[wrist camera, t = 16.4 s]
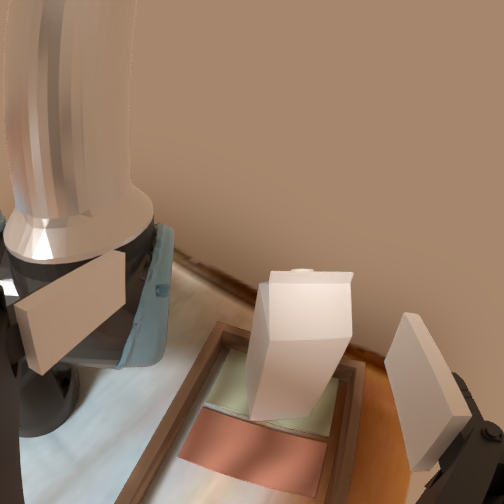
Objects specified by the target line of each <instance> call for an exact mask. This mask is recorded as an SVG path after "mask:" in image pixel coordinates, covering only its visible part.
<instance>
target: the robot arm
mask: <svg viewBox="0 0 504 504" xmlns="http://www.w3.org/2000/svg"><path fill="white" fill-rule="evenodd" d="M137 4H138V0H9V6H8V13H7V21H6V30H5V42H4V60H3V105H4V123H5V134H6V145H7V154H8V161H9V168H10V175H11V181H12V187H13V192H14V198H15V203H16V206H15V209H14V211H13V213H12V215H11V216H10V218H9V220H8V222H7V224H6V225H5V223H6V219H5V216H3V214H2V212H1V210H0V504H25V503H24V496H23V488H22V478H21V466H20V449H19V437H27V438H29V437H37V436H41V435H44V434H47V433H49V432H51V431H52V430H54V429H56V428H57V427H58V426H59V425H61V424H62V423H63V422H64V421H65V420H66V418H67V417H68V416H69V415H70V413H71V411H72V410H73V408H74V406H75V403H76V400H77V397H78V392H79V378H78V373H77V370H76V367H75V366H84V367H96V368H112V369H115V370H120V369H122V368H124V367H148V366H152V365H154V364H156V363H158V362H159V361H160V360H161V358H162V357H163V355H164V352H165V347H166V339H167V327H168V313H169V290H170V282H171V273H172V261H173V247H174V231H173V229H172V228H171V227H170V226H166V225H164V224H161V223H157V224H154V210H153V205H152V201H151V200H150V198H149V197H148V196H147V195H146V194H145V193H143V192H142V191H141V190H140V189H138V188H137V187H135V186H134V185H133V184H132V182H131V173H130V88H131V68H132V54H133V41H134V30H135V20H136V12H137ZM384 363H385V367H386V370H387V374H388V378H389V381H390V385H391V389H392V393H393V396H394V400H395V404H396V408H397V412H398V417H399V421H400V425H401V429H402V434H403V438H404V443H405V447H406V452H407V457H408V462H409V467H410V472H419V471H430V469H431V468H432V467H433V466H434V465H435V464H436V463H437V461H439V465H440V468H441V469H440V470H439V471H438V472H437V473H436V475H435V476H434V477H433V478H432V479H431V480H430V481H429V482H428V483H427V484H426V485H425V487H426V490H425V491H424V493H423V494H422V495H421V497H420V498H419V500H418V501H417V502H416V504H504V433H503V431H502V430H501V429H500V427H499V426H497V425H496V424H494V423H492V422H490V421H484V419H483V417H482V415H481V413H480V411H479V409H478V407H477V405H476V403H475V401H474V399H473V398H472V396H471V393H470V392H469V391H468V388H467V386H466V384H465V382H464V380H462V379H461V378H460V377H459V376H458V375H457V374H456V373H453V372H450V369H449V368H448V366H447V364H446V362H445V360H444V358H443V357H442V355H441V353H440V351H439V349H438V347H437V345H436V344H435V342H434V340H433V338H432V337H431V335H430V333H429V331H428V330H427V328H426V326H425V325H424V323H423V321H422V319H421V318H420V316H419V315H418V314H413V313H407V312H404V313H403V316H402V319H401V321H400V324H399V326H398V329H397V332H396V334H395V337H394V339H393V342H392V344H391V347H390V349H389V351H388V354H387V356H386V358H385V361H384Z"/></svg>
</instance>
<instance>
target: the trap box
mask: <svg viewBox="0 0 504 504" xmlns="http://www.w3.org/2000/svg"><path fill="white" fill-rule="evenodd" d="M250 335H251V332H250V331H246V330H243V329H240V328H237V327H233V326H230V325H227V324H224V323H221V322H217V324H216V325H215V327H214V329H213V331H212V332H211V334H210V336H209V338H208V340H207V341H206V343H205V345H204V347H203V348H202V350H201V352H200V354H199V355H198V357H197V359H196V361H195V363H194V364H193V366H192V368H191V370H190V371H189V373H188V375H187V377H186V378H185V380H184V382H183V384H182V385H181V387H180V389H179V391H178V393H177V394H176V396H175V398H174V400H173V401H172V403H171V405H170V407H169V408H168V410H167V412H166V414H165V415H164V417H163V419H162V421H161V422H160V424H159V426H158V428H157V429H156V431H155V433H154V435H153V436H152V438H151V440H150V442H149V444H148V445H147V447H146V449H145V451H144V452H143V454H142V456H141V458H140V459H139V461H138V463H137V465H136V466H135V468H134V470H133V472H132V473H131V475H130V477H129V479H128V480H127V482H126V484H125V485H124V487H123V489H122V491H121V492H120V494H119V496H118V498H117V499H116V501H115V503H114V504H140V502H141V500H142V498H143V496H144V495H145V493H146V491H147V489H148V487H149V485H150V483H151V482H152V480H153V478H154V476H155V474H156V472H157V470H158V469H159V467H160V465H161V463H162V461H163V459H164V457H165V455H166V454H167V452H168V450H169V448H170V446H171V444H172V442H173V440H174V438H175V437H176V435H177V433H178V431H179V429H180V427H181V425H182V423H183V421H184V419H185V417H186V416H187V414H188V412H189V410H190V408H191V406H192V404H193V402H194V400H195V398H196V396H197V394H198V393H199V391H200V389H201V387H202V385H203V383H204V381H205V379H206V377H207V375H208V373H209V371H210V369H211V367H212V365H213V363H214V362H215V360H216V358H217V356H218V354H219V352H220V350H221V348H225V349H228V350H230V352H229V354H228V356H227V358H226V360H225V362H224V364H223V366H222V368H221V370H220V372H219V374H218V376H217V378H216V380H215V382H214V385H213V387H212V389H211V391H210V393H209V395H208V397H207V399H206V402H207V403H210V404H213V405H216V406H218V407H221V408H224V409H227V410H230V411H233V412H236V413H239V414H242V415H245V416H248V417H249V410H248V401H247V393H246V384H245V375H244V370H245V364H246V359H247V353H248V347H249V341H250ZM365 364H366V363H365V362H361V361H356V360H352V359H348V358H344V357H342V358H341V360H340V362H339V363H338V365H337V367H336V369H335V371H334V373H333V375H332V377H331V379H330V381H329V382H328V384H327V386H326V388H325V390H324V392H323V393H322V395H321V397H320V399H319V400H318V402H317V404H316V406H315V407H314V409H313V411H312V413H311V414H310V416H308V417H302V418H291V419H279V420H264V421H265V422H268V423H272V424H275V425H279V426H283V427H286V428H290V429H294V430H298V431H302V432H306V433H310V434H315V435H319V436H324V437H329V434H330V429H331V424H332V418H333V413H334V407H335V402H336V396H337V390H338V384H339V381H342V382H346V383H347V389H346V396H345V403H344V409H343V416H342V422H341V427H340V433H339V439H338V444H337V449H336V454H335V459H334V464H333V469H332V473H331V478H330V482H329V487H328V491H327V495H326V499H325V503H324V504H346V501H347V496H348V491H349V486H350V481H351V475H352V470H353V464H354V458H355V452H356V445H357V439H358V431H359V424H360V416H361V407H362V398H363V388H364V377H365ZM327 444H328V443H324V442H319V441H314V440H310V439H306V438H302V437H298V436H294V435H290V434H286V433H282V432H278V431H275V430H271V429H268V428H264V427H261V426H258V425H254V424H251V423H248V422H245V421H241V420H238V419H235V418H232V417H229V416H226V415H223V414H221V413H218V412H215V411H212V410H209V409H207V408H204V407H202V409H201V411H200V413H199V415H198V417H197V419H196V421H195V423H194V425H193V427H192V429H191V431H190V433H189V435H188V437H187V439H186V441H185V443H184V445H183V447H182V449H181V451H180V453H179V455H178V457H180V458H182V459H184V460H187V461H189V462H192V463H195V464H197V465H200V466H202V467H205V468H208V469H211V470H213V471H216V472H219V473H222V474H225V475H228V476H231V477H234V478H237V479H240V480H244V481H247V482H250V483H254V484H257V485H261V486H265V487H269V488H272V489H276V490H281V491H285V492H289V493H294V494H298V495H303V496H308V497H313V498H314V497H315V495H316V491H317V487H318V483H319V479H320V475H321V470H322V466H323V462H324V457H325V453H326V448H327Z"/></svg>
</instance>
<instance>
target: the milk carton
mask: <svg viewBox="0 0 504 504" xmlns="http://www.w3.org/2000/svg"><path fill="white" fill-rule="evenodd" d="M352 277H353V272H315V270H313V269H292V270H291V271H271V272H270V277H269V282H260V283H259V286H258V292H257V299H256V305H255V311H254V317H253V323H252V329H251V335H250V341H249V347H248V353H247V359H246V364H245V370H244V375H245V384H246V393H247V401H248V410H249V418H250V421H264V420H279V419H291V418H302V417H308V416H310V414H311V413H312V411H313V409H314V407H315V406H316V404H317V402H318V400H319V399H320V397H321V395H322V393H323V392H324V390H325V388H326V386H327V384H328V382H329V381H330V379H331V377H332V375H333V373H334V371H335V369H336V367H337V365H338V363H339V362H340V360H341V358H342V356H343V354H344V352H345V350H346V348H347V346H348V344H349V342H350V340H351V337H352V309H351V288H350V283H351V280H352Z"/></svg>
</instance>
